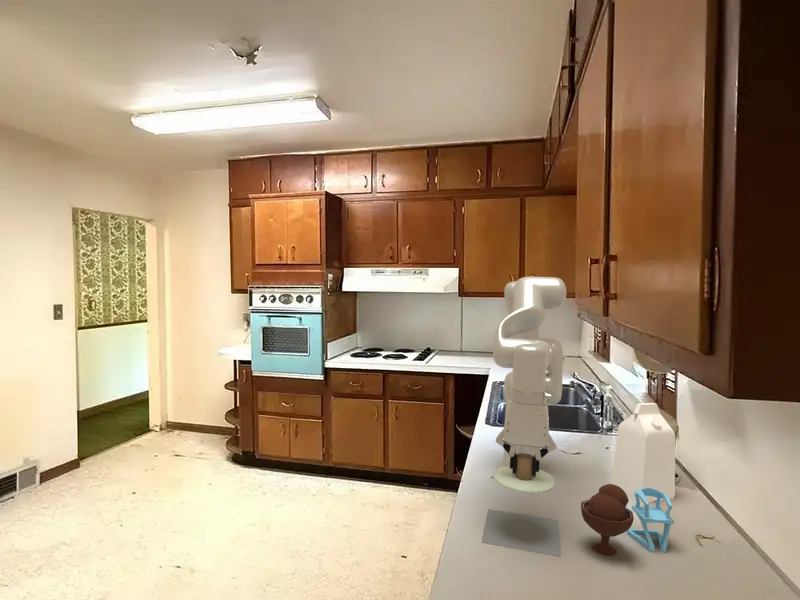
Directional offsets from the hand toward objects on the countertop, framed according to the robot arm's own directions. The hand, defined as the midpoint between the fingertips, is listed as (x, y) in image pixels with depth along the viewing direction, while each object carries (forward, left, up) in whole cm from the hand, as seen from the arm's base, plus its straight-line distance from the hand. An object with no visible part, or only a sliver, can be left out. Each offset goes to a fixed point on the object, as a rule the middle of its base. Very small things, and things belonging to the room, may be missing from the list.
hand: (524, 472), depth 114 cm
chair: (-5, +29, -15) cm, 33 cm away
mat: (+1, 0, -14) cm, 14 cm away
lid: (0, 0, -2) cm, 2 cm away
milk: (-35, +33, -15) cm, 51 cm away
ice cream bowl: (+3, +18, -15) cm, 23 cm away
